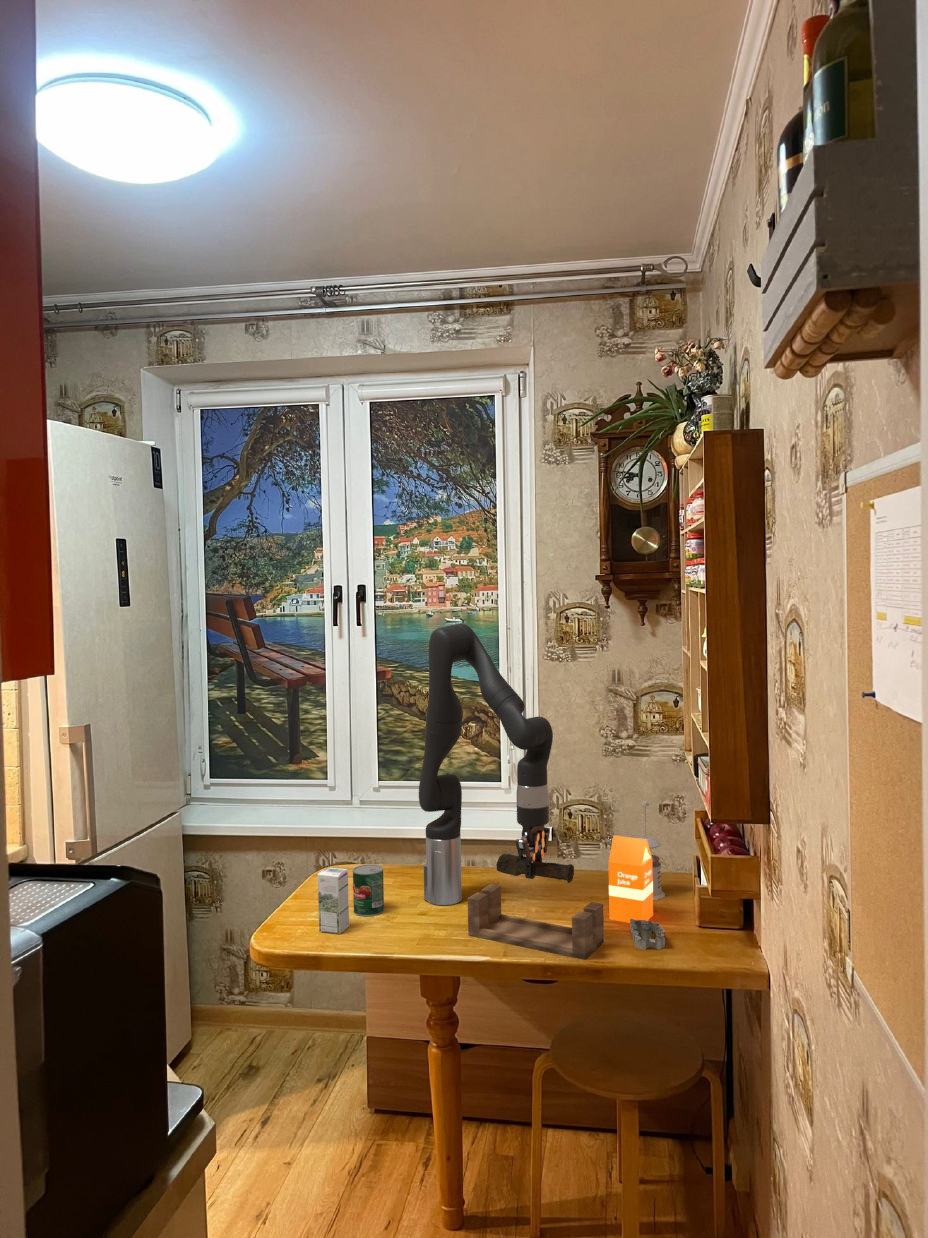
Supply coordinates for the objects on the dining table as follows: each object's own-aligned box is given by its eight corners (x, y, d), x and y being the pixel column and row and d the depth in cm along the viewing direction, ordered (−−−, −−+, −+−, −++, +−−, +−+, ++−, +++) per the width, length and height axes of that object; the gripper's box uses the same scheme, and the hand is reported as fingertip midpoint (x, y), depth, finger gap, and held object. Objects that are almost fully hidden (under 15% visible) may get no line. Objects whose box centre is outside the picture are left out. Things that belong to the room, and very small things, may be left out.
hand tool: (575, 879, 208) (575, 859, 208) (569, 884, 205) (569, 864, 205) (501, 869, 217) (501, 850, 217) (494, 874, 214) (494, 854, 213)
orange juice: (619, 909, 229) (618, 831, 228) (653, 915, 225) (652, 835, 224) (608, 919, 222) (607, 839, 222) (643, 925, 218) (642, 844, 217)
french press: (663, 888, 244) (661, 796, 244) (668, 903, 233) (666, 807, 232) (626, 887, 245) (625, 796, 245) (629, 902, 234) (628, 807, 233)
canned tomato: (348, 915, 229) (347, 872, 229) (361, 904, 237) (359, 863, 236) (377, 918, 227) (376, 875, 226) (389, 907, 234) (387, 865, 234)
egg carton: (666, 951, 203) (666, 933, 203) (633, 950, 204) (632, 933, 204) (661, 933, 214) (661, 916, 214) (629, 932, 215) (629, 915, 214)
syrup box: (350, 926, 222) (348, 868, 221) (339, 935, 216) (337, 875, 216) (329, 924, 224) (328, 866, 223) (318, 932, 218) (316, 873, 217)
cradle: (468, 935, 214) (467, 898, 214) (490, 920, 224) (490, 884, 223) (584, 960, 199) (584, 919, 198) (603, 942, 208) (603, 904, 208)
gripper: (533, 811, 202) (535, 887, 203) (559, 798, 214) (561, 869, 215) (504, 808, 206) (505, 882, 207) (531, 795, 218) (532, 865, 219)
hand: (533, 875), depth 211 cm, fingers closed on hand tool, 3 cm apart
